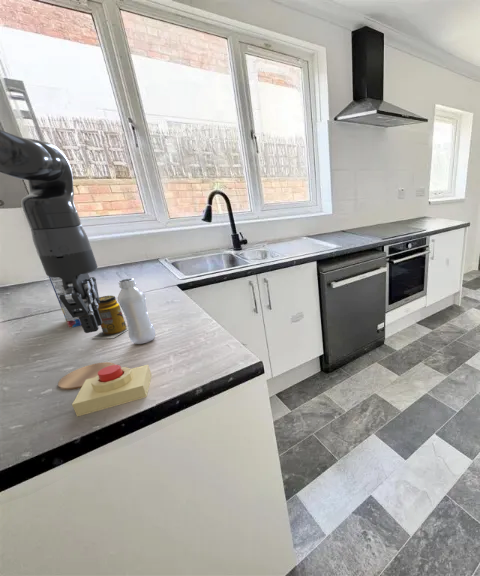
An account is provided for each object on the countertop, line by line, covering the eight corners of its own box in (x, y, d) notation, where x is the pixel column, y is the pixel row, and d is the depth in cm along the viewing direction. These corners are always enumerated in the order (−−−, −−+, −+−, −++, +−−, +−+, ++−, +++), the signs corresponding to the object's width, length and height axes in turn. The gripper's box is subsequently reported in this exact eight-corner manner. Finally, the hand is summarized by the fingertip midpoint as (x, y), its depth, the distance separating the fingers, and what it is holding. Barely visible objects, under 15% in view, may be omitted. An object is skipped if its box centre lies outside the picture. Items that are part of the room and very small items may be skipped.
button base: (77, 416, 65) (68, 397, 63) (90, 390, 73) (83, 372, 72) (146, 397, 71) (140, 378, 69) (151, 375, 79) (146, 358, 77)
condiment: (133, 326, 106) (123, 294, 102) (113, 338, 98) (101, 303, 94) (112, 327, 106) (101, 294, 102) (90, 339, 98) (77, 304, 94)
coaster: (51, 395, 72) (50, 393, 72) (67, 371, 81) (66, 369, 81) (111, 380, 77) (110, 378, 77) (120, 359, 86) (119, 358, 86)
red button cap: (98, 384, 68) (95, 376, 67) (102, 375, 71) (100, 367, 70) (121, 379, 70) (118, 371, 69) (124, 370, 73) (122, 362, 72)
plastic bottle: (126, 347, 92) (105, 284, 86) (139, 337, 99) (121, 277, 92) (150, 345, 93) (131, 283, 87) (161, 335, 99) (144, 276, 93)
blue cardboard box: (74, 316, 115) (50, 253, 107) (101, 311, 119) (79, 250, 111) (69, 328, 106) (42, 260, 98) (97, 322, 110) (74, 256, 102)
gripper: (52, 246, 65) (81, 320, 70) (22, 259, 53) (58, 347, 59) (99, 242, 68) (122, 313, 74) (79, 254, 57) (109, 337, 62)
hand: (94, 328), depth 66 cm, fingers closed
